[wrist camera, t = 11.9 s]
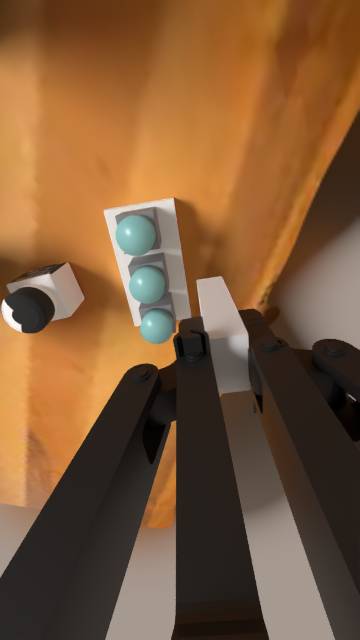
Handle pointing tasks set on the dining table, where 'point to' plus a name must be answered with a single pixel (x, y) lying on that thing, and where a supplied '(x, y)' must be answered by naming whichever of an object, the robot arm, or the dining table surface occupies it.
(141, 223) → the knob
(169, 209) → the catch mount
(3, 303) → the medicine bottle
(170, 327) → the knob
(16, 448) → the dining table surface
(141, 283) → the knob
